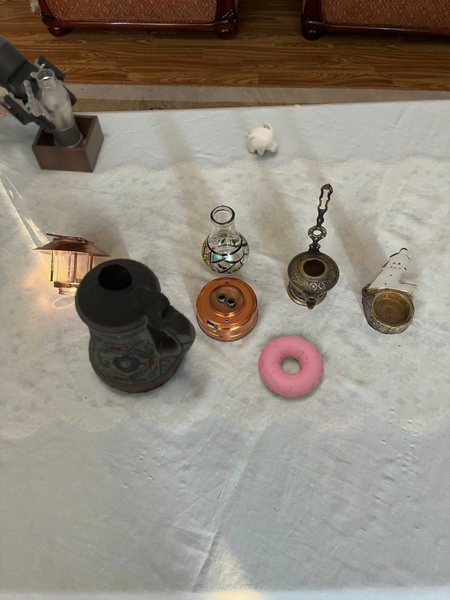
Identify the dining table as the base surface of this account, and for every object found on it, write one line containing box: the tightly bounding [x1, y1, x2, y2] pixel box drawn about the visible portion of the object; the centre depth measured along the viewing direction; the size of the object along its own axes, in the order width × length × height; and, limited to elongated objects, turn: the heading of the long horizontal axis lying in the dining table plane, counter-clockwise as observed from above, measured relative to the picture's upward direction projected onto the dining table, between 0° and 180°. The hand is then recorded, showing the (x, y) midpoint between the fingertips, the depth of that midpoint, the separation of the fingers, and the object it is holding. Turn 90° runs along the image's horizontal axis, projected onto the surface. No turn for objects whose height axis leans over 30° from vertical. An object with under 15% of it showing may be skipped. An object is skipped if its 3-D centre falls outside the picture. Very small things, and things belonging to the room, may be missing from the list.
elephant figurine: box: [244, 122, 279, 156], centre depth 114 cm, size 7×8×6 cm
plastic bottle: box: [35, 69, 85, 148], centre depth 108 cm, size 6×7×20 cm
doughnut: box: [257, 335, 324, 398], centre depth 88 cm, size 11×11×4 cm
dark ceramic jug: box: [74, 258, 197, 394], centre depth 82 cm, size 16×19×25 cm
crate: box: [30, 113, 105, 174], centre depth 114 cm, size 12×11×8 cm
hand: (64, 116), depth 106 cm, fingers open, 8 cm apart
